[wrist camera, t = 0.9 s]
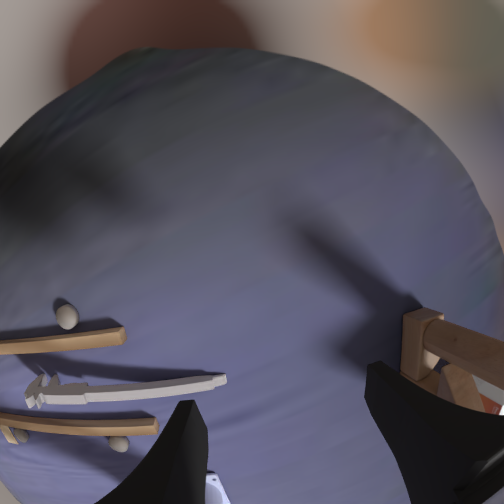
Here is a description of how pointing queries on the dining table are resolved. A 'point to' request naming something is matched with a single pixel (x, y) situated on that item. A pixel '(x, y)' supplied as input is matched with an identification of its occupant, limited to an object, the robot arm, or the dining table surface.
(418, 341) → the brown wooden frame
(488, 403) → the small box
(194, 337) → the dining table surface
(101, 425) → the rails
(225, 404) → the dining table surface
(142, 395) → the caliper
